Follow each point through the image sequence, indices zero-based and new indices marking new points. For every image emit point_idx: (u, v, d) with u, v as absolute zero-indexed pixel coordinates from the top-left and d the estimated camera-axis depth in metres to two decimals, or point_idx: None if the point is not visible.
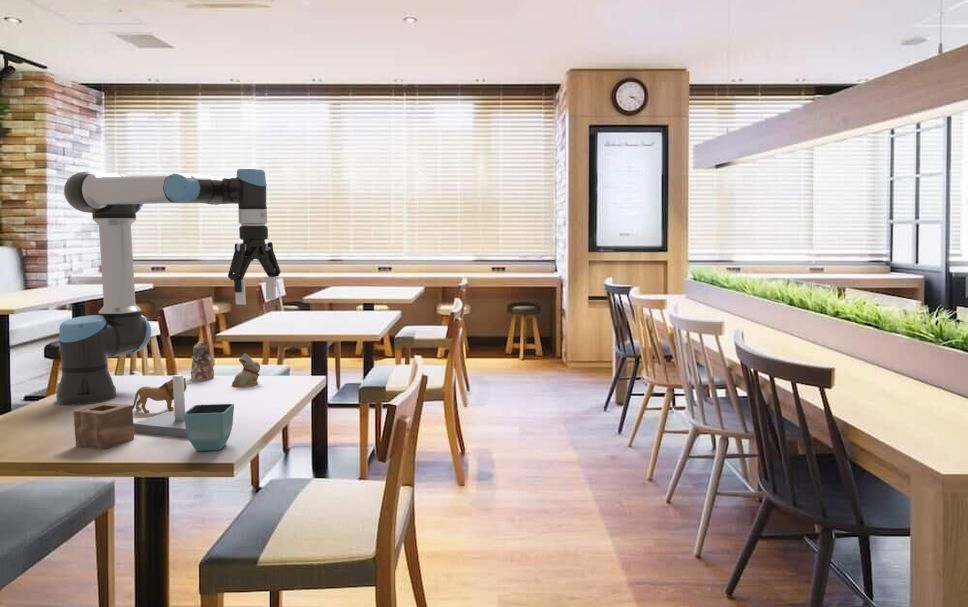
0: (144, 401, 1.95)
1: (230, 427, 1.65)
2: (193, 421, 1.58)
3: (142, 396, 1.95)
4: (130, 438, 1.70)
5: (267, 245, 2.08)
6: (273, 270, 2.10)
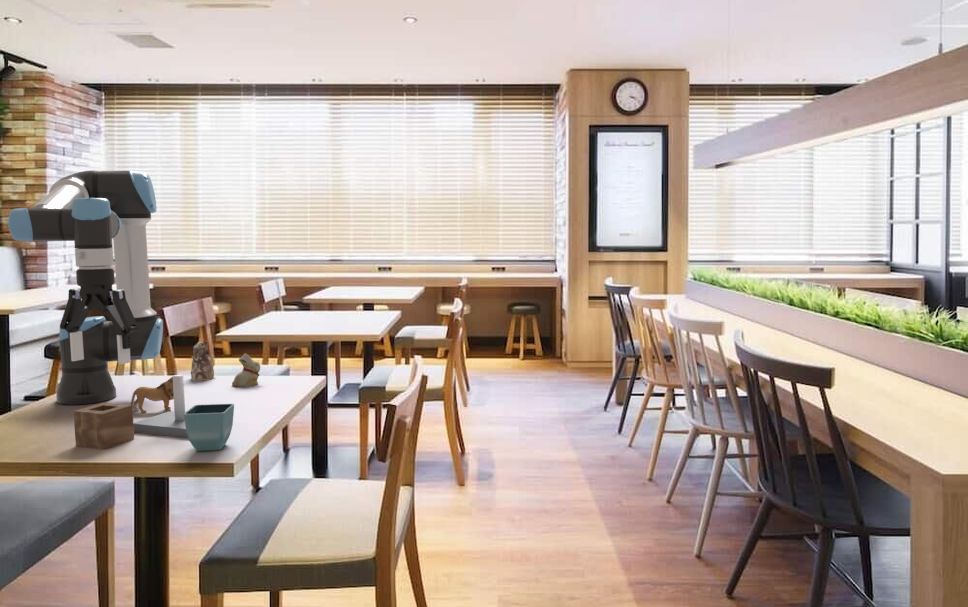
0: (141, 401, 1.95)
1: (230, 427, 1.65)
2: (193, 421, 1.58)
3: (139, 396, 1.94)
4: (130, 438, 1.70)
5: None
6: (118, 326, 1.62)
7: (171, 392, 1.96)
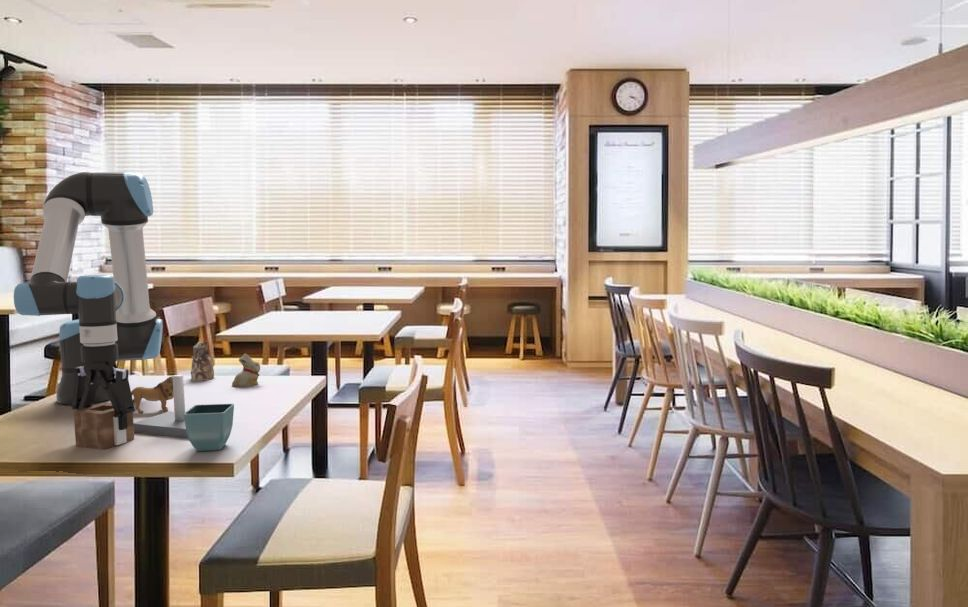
0: (138, 401, 1.94)
1: (230, 427, 1.65)
2: (193, 421, 1.58)
3: (136, 396, 1.94)
4: (130, 438, 1.70)
5: None
6: (115, 407, 1.64)
7: (168, 392, 1.96)
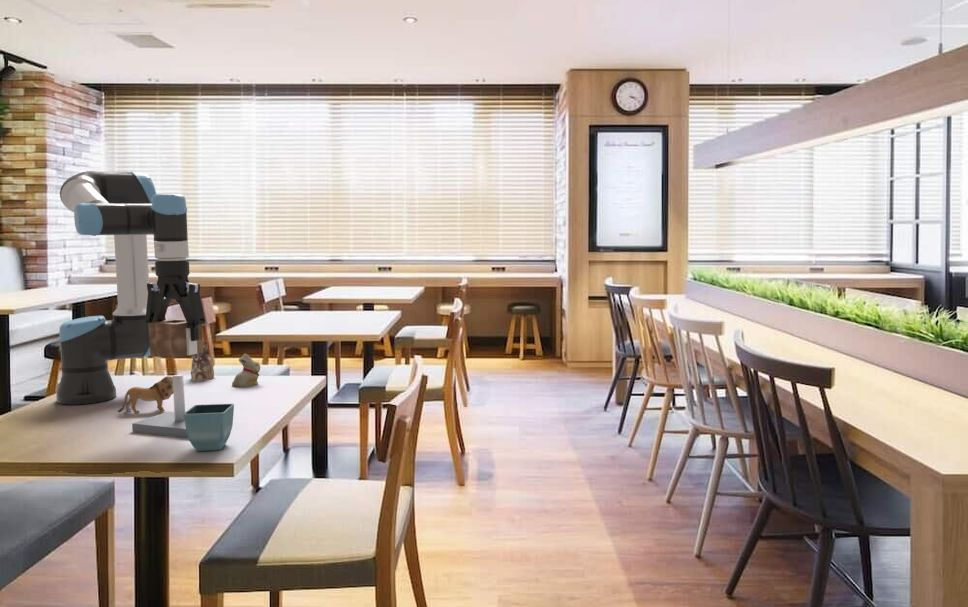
0: (134, 402, 1.94)
1: (230, 427, 1.65)
2: (193, 421, 1.58)
3: (132, 397, 1.94)
4: (200, 351, 1.79)
5: None
6: (188, 319, 1.74)
7: (165, 392, 1.96)
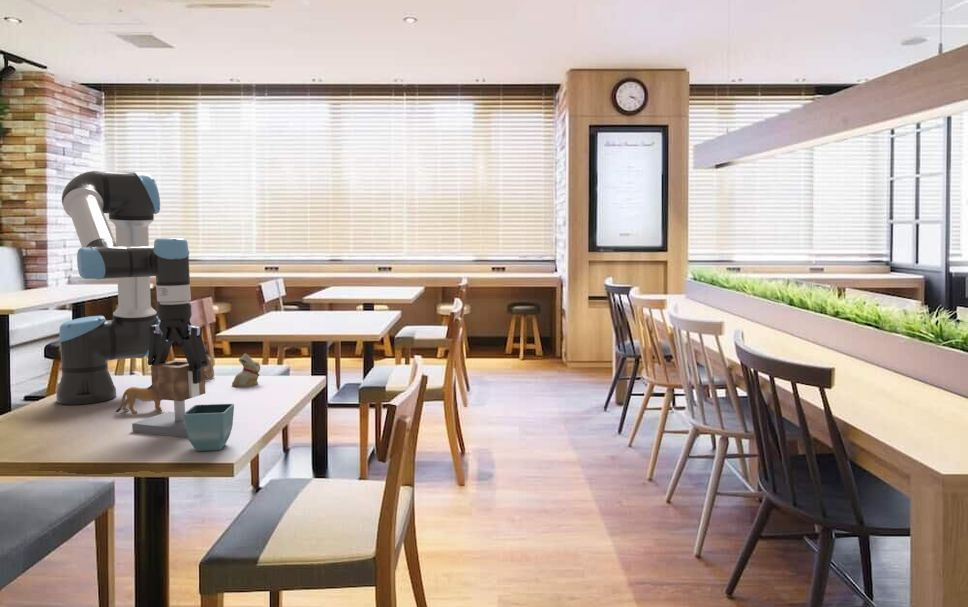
0: (132, 402, 1.94)
1: (230, 427, 1.65)
2: (193, 421, 1.58)
3: (130, 397, 1.94)
4: (202, 392, 1.80)
5: None
6: (190, 362, 1.75)
7: None
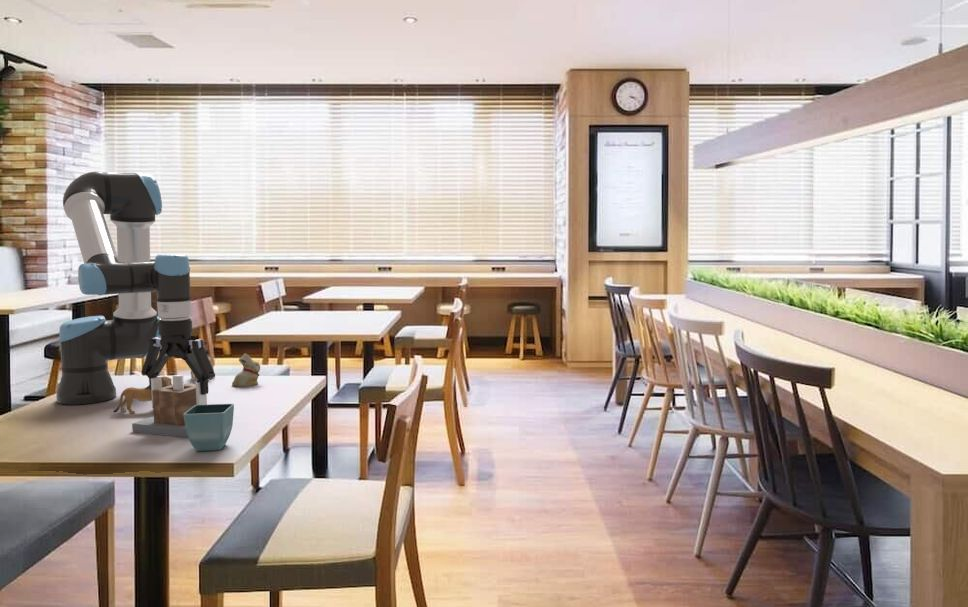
0: (130, 402, 1.94)
1: (230, 427, 1.65)
2: (193, 421, 1.58)
3: (128, 397, 1.94)
4: None
5: None
6: (196, 374, 1.75)
7: None
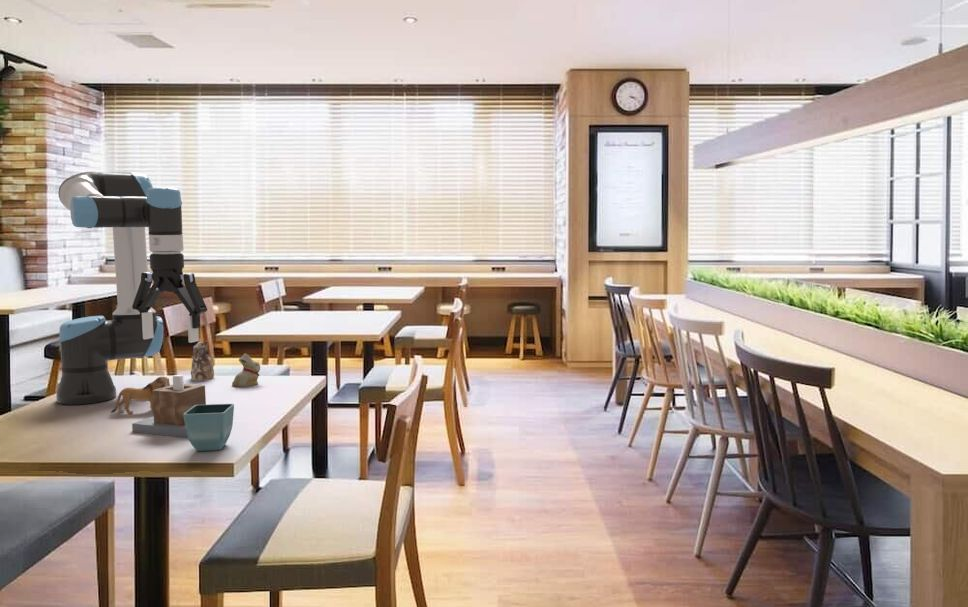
0: (128, 402, 1.94)
1: (230, 427, 1.65)
2: (193, 421, 1.58)
3: (125, 397, 1.93)
4: None
5: None
6: (188, 307, 1.75)
7: None
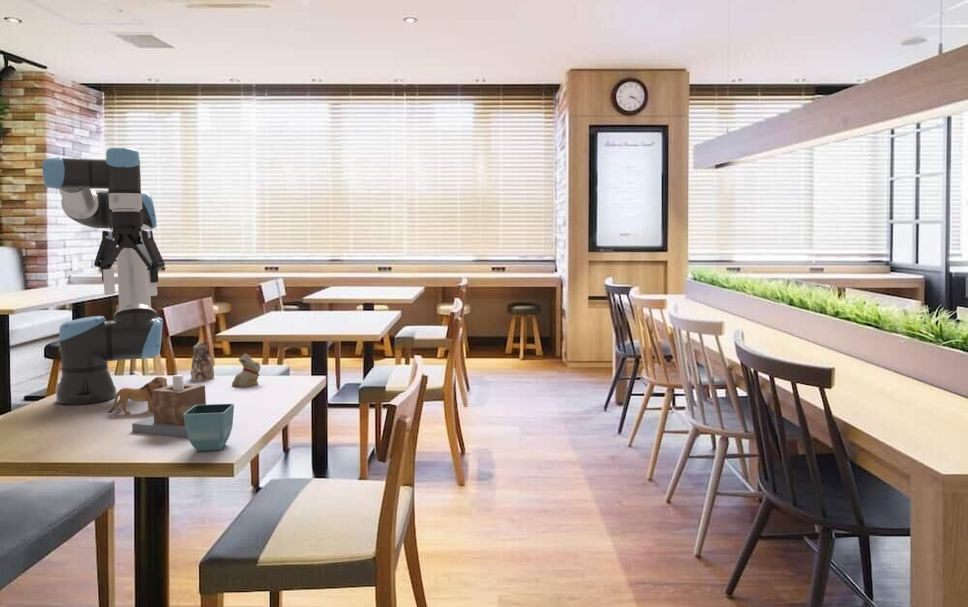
0: (125, 402, 1.93)
1: (230, 427, 1.65)
2: (193, 421, 1.58)
3: (123, 397, 1.93)
4: None
5: None
6: (146, 262, 1.83)
7: None
